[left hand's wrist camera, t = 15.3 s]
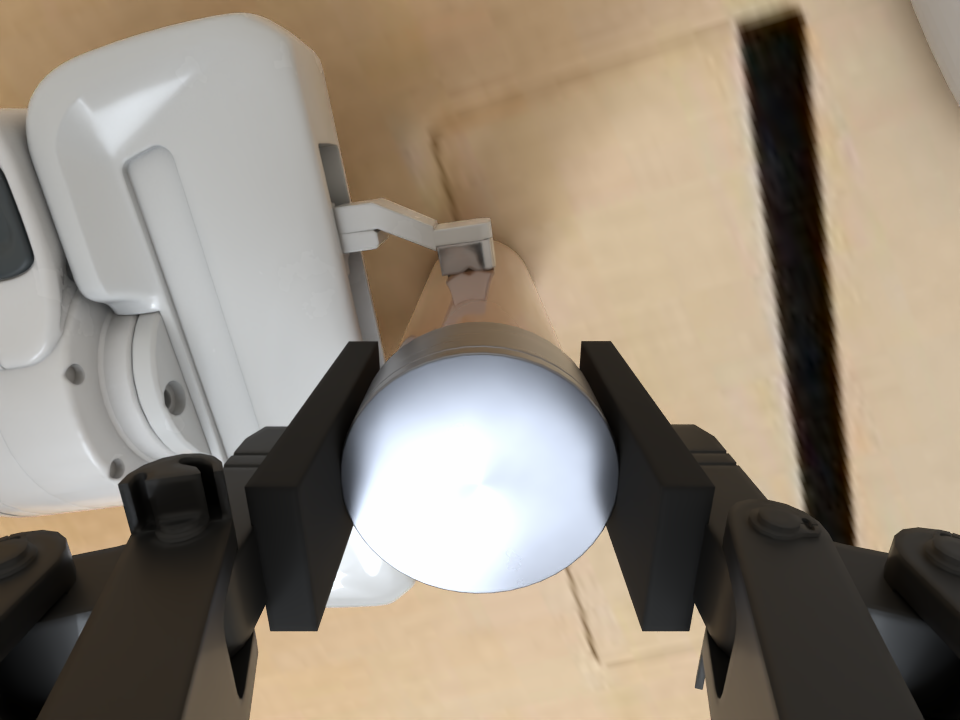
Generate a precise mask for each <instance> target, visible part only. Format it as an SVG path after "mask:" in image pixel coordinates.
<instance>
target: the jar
mask: <svg viewBox="0 0 960 720" xmlns="http://www.w3.org/2000/svg"><path fill="white" fill-rule="evenodd" d="M493 242H494V251H495V259H496V267H494V268H492V269H488V270H483V271H474V270H472V269H470V268H468V269H467V270H465V271H464V272H463V273H460V274H455V275H447V276H442V273H441V268H440V262H439V258H438V260H437V261H436V263H435V264H434V266H433V268H432V270H431V273H430V275H429V277H428V280H427V282H426V284H425V287H424V289H423V291H422V293H421V296H420V298H419V300H418V303H417V305H416V307H415V310H414V312H413V314H412V317H411V319H410V321H409V323H408V326H407V328H406V330H405V333H404V335H403V337H402V340H401V342H400V344H399V347H398V349H397V351H398V350H399V349H401V348H402V347H403V346H404V345H406V344H407V343H409V342H411V341H412V340H414V339H416V338H417V337H419V336H421V335H423V334H426V333H428V332H430V331H432V330H435V329H438V328H442V327H445V326H448V325H454V324H460V323H466V322H492V323H501V324H506V325H510V326H515V327H518V328H521V329H524V330H527V331H530V332H532V333H534V334H536V335H538V336H540V337H542V338H544V339H546V340H548V341H549V342H551V343H552V344H553V345H555V346H556V347H558V348H559V349H561V350H562V348H561V345H560V343H559V341H558V338H557V336H556V334H555V331H554V329H553V327H552V325H551V322H550V320H549V318H548V315H547V313H546V311H545V308H544V306H543V304H542V301H541V299H540V297H539V294H538V292H537V290H536V288H535V285H534V283H533V281H532V278H531V276H530V274H529V271H528V269H527V267H526V265H525V263H524V262H523V260H522V259H521V258H520V256H519V255H518V254H517V253H516V252H515V251H514V250H512V249H511V248H510V247H508V246H507V245H505V244H503V243H501V242H498V241H496V240H493ZM397 351H396V352H397ZM562 351H563V350H562Z"/></svg>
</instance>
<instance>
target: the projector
mask: <svg viewBox="0 0 960 720" xmlns="http://www.w3.org/2000/svg"><path fill="white" fill-rule="evenodd" d="M910 1H911V4H912V7H913V9H914V12H915V14H916V16H917V19H918V21H919V24H920V26H921V28H922V31H923V33H924V35H925V38H926V40H927V42H928V45H929V47H930V50H931V52H932V54H933V56H934V58H935V60H936V62H937V64H938V66H939V68H940V71H941V73H942V75H943V77H944V79H945V81H946V83H947V85H948V87H949V89H950V91H951V92H952V94H953V96H954V98H955V100H956V102H957V103H958V105H959V107H960V0H910Z"/></svg>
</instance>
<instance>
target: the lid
mask: <svg viewBox="0 0 960 720" xmlns="http://www.w3.org/2000/svg"><path fill="white" fill-rule="evenodd" d="M619 473H620V464H619V454H618V450H617V446H616V442H615V438H614V436H613V434H612V431H611V429H610V427H609V424H608V422H607V420H606V418H605V416H604V414H603V412H602V410H601V408H600V406H599V404H598V401H597V399H596V397H595V395H594V393H593V391H592V389H591V387H590V385H589V383H588V382H587V380H586V378H585V377H584V375H583V373H582V372H581V370H580V369H579V368H578V367H577V366H576V364H575V363H574V362H573V361H572V360H571V359H570V358H569V357H568V356H567V355H566V354H565V353H564V352H563V351H562V350H561V349H559V348H558V347H556V346H555V345H553V344H552V343H551V342H549V341H548V340H546V339H544V338H542V337H540V336H538V335H536V334H534V333H532V332H530V331H527V330H524V329H521V328H518V327H515V326H510V325H506V324H501V323H492V322H466V323H460V324H454V325H448V326H445V327H442V328H438V329H435V330H432V331H430V332H428V333H426V334H423V335H421V336H419V337H417V338H416V339H414V340H412V341H411V342H409V343H407V344H406V345H404V346H403V347H402V348H401V349H399V350H398V351H397V352H396V353H395V354H393V355H392V356H391V357H390V358H389V360H388V361H387V362H386V363H385V364H384V365H383V366H382V367H381V369H380V370H379V372H378V373H377V374H376V376H375V377H374V379H373V381H372V383H371V385H370V387H369V389H368V391H367V393H366V395H365V397H364V399H363V401H362V403H361V405H360V407H359V409H358V412H357V414H356V416H355V418H354V420H353V422H352V424H351V426H350V428H349V430H348V432H347V435H346V438H345V441H344V445H343V448H342V454H341V460H340V477H341V487H342V496H343V500H344V503H345V507H346V510H347V512H348V515H349V517H350V519H351V521H352V523H353V525H354V527H355V528H356V530H357V531H358V533H359V534H360V536H361V537H362V539H363V540H364V541H365V542H366V544H367V545H368V546H369V547H370V548H371V549H372V551H374V552H375V553H376V554H377V555H378V556H379V557H380V558H381V559H382V560H384V561H385V562H386V563H388V564H389V565H390V566H392V567H393V568H395V569H396V570H397V571H399V572H401V573H403V574H405V575H407V576H408V577H410V578H412V579H415V580H417V581H419V582H422V583H424V584H427V585H430V586H433V587H437V588H440V589H444V590H450V591H455V592H463V593H496V592H504V591H510V590H515V589H519V588H523V587H527V586H529V585H532V584H535V583H538V582H541V581H543V580H545V579H547V578H549V577H551V576H553V575H555V574H557V573H559V572H560V571H562V570H563V569H565V568H566V567H568V566H570V565H571V564H572V563H573V562H575V561H576V560H577V559H578V558H579V557H581V556H582V555H583V554H584V553H585V552H586V551H587V550H588V549H589V548H590V547H591V546H592V545H593V543H594V542H595V541H596V539H597V538H598V537H599V535H600V534H601V533H602V531H603V529H604V528H605V526H606V524H607V522H608V520H609V518H610V516H611V514H612V511H613V508H614V506H615V503H616V499H617V492H618V483H619Z"/></svg>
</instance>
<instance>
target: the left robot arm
mask: <svg viewBox="0 0 960 720" xmlns="http://www.w3.org/2000/svg"><path fill="white" fill-rule="evenodd" d="M379 370H380V361H379V346H378V341H349V342H348V343H347V344H346V346H345V347H344V349H343V350H342V351H341V353H340V354H339V356H338V357H337V358H336V360H335V361H334V363H333V364H332V365H331V367H330V368H329V370H328V371H327V372H326V374H325V375H324V376H323V378H322V379H321V381H320V382H319V383H318V385H317V386H316V388H315V389H314V390H313V392H312V393H311V395H310V396H309V397H308V399H307V400H306V402H305V403H304V404H303V406H302V407H301V409H300V410H299V411H298V413H297V414H296V415H295V417H294V418H293V420H292V421H291V422H290V424H289V425H288V426H265V427H264V428H262V429H260V430H259V431H257V432H255V433H254V434H252V435H250V436H249V437H247V438H246V439H245V440H244V441H243V442H242V443H241V445H240V446H239V447H238V448H237V449H236V450H235V452H234V455H231V456H230V458H229V459H228V460H227V461H226V462H225V464H224V467H223V465H222V462H221V461H220V460H219V459H217V458H216V457H215V456H212V455H207V454H202V453H189V454H179V455H174V456H169V457H164V458H161V459H158V460H155V461H153V462H150V463H147V464H145V465H143V466H141V467H139V468H137V469H136V470H134V471H132V472H131V473H129V474H127V475H126V476H125V477H124V478H123V479H122V480H121V481H120V483H119V484H118V488H119V491H120V495H121V498H122V502H123V506H124V509H125V513H126V517H127V520H128V524H129V527H130V531H131V536H130V538H129V540H128V542H127V544H125V545H121V546H118V547H113V548H108V549H103V550H98V551H93V552H88V553H83V554H78V555H73V556H72V555H71V552H70V549H69V546H68V543H67V540H66V538H65V537H63V536H62V535H61V534H60V533H58V532H54V531H46V530H38V531H30V532H21V533H16V534H12V535H10V536H5V537H2V538H0V720H249V718H250V710H251V703H252V695H253V688H254V680H255V673H256V665H257V658H258V647H257V640H256V634H255V629H254V628H255V626H256V623H257V621H258V619H259V617H260V615H261V613H262V611H263V609H264V607H265V605H266V610H267V616H268V621H269V627H270V631H318V628H319V625H320V622H321V619H322V616H323V613H324V610H325V607H326V604H327V601H328V599H329V596H330V593H331V590H332V587H333V584H334V581H335V578H336V575H337V572H338V569H339V567H340V564H341V561H342V558H343V555H344V552H345V549H346V546H347V543H348V540H349V537H350V535H351V532H352V529H353V526H354V525H353V523H352V521H351V519H350V517H349V515H348V512H347V510H346V507H345V503H344V500H343V496H342V487H341V477H340V460H341V454H342V448H343V445H344V441H345V438H346V435H347V432H348V430H349V428H350V426H351V424H352V422H353V420H354V418H355V416H356V414H357V412H358V409H359V407H360V405H361V403H362V401H363V399H364V397H365V395H366V393H367V391H368V389H369V387H370V385H371V383H372V381H373V379H374V377H375V376H376V374H377V373H378V372H379ZM580 370H581V372H582V373H583V375H584V377H585V378H586V380H587V382H588V383H589V385H590V387H591V389H592V391H593V393H594V395H595V397H596V399H597V401H598V404H599V406H600V408H601V410H602V412H603V414H604V416H605V418H606V420H607V422H608V424H609V427H610V429H611V431H612V434H613V436H614V438H615V442H616V446H617V450H618V454H619V464H620V473H619V483H618V492H617V499H616V503H615V506H614V508H613V511H612V514H611V516H610V518H609V520H608V522H607V524H606V527H607V530H608V533H609V536H610V539H611V541H612V544H613V547H614V550H615V553H616V556H617V559H618V562H619V565H620V568H621V571H622V573H623V576H624V579H625V582H626V585H627V588H628V591H629V594H630V597H631V600H632V603H633V605H634V608H635V611H636V614H637V617H638V620H639V623H640V626H641V629H642V631H689V630H690V625H691V619H692V614H693V608H694V603H695V605H696V607H697V609H698V611H699V613H700V615H701V617H702V619H703V621H704V623H705V625H706V629H705V634H704V640H703V645H702V650H701V655H700V660H699V665H698V670H697V676H696V683H695V688H697V689H703V684H704V679H706V686H707V694H708V701H709V709H710V716H711V720H960V535H958V534H955V533H953V534H951V533H950V532H947V531H943V530H935V529H927V528H919V527H918V528H910V529H903V530H901V531H900V532H899V533H897V534H896V535H895V536H894V539H893V542H892V545H891V548H890V551H889V553H885V552H880V551H875V550H870V549H865V548H860V547H855V546H850V545H845V544H840V543H837V542H833V541H832V539H831V537H830V535H829V533H828V532H827V531H826V530H825V529H824V527H823V526H822V525H821V524H820V522H818V521H817V520H815V519H814V518H812V517H811V516H809V515H808V514H807V513H805V512H803V511H801V510H799V509H796V508H794V507H792V506H789V505H787V504H784V503H780V502H775V501H771V500H767V498H766V497H765V496H764V495H763V494H762V492H761V491H760V490H759V489H758V488H757V487H756V485H755V484H754V483H753V482H752V481H751V479H750V478H749V477H748V476H747V475H746V473H745V472H744V471H743V470H742V469H741V468H740V466H737V465H736V462H735V460H734V459H733V458H732V457H731V456H730V455H729V454H726V450H725V449H724V447H723V446H722V445H721V444H720V443H719V442H718V440H717V439H716V438H715V437H714V436H713V435H711V434H709V433H708V432H706V431H704V430H703V429H701V428H699V427H698V426H696V425H671V424H670V423H669V422H668V420H667V419H666V417H665V416H664V415H663V413H662V412H661V410H660V409H659V408H658V406H657V405H656V403H655V402H654V401H653V399H652V398H651V397H650V395H649V394H648V392H647V391H646V390H645V388H644V387H643V385H642V384H641V383H640V381H639V380H638V378H637V377H636V376H635V374H634V373H633V371H632V370H631V369H630V367H629V366H628V364H627V363H626V362H625V360H624V359H623V358H622V356H621V355H620V353H619V352H618V351H617V349H616V348H615V346H614V345H613V344H612V342H611V341H581V355H580Z"/></svg>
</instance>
